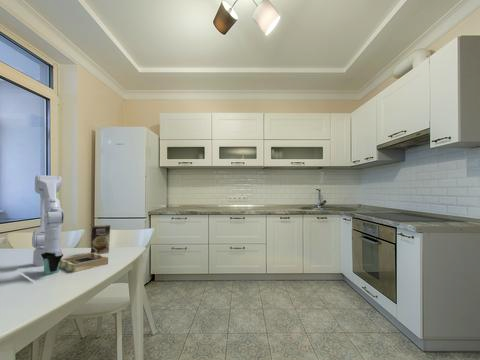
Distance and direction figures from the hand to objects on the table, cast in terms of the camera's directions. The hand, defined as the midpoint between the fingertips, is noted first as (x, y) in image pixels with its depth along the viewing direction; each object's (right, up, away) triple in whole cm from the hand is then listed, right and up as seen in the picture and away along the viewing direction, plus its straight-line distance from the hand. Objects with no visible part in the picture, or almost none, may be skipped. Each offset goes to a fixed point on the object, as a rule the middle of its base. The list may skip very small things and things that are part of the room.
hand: (51, 270), depth 103 cm
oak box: (+7, -3, +11) cm, 13 cm away
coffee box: (+1, -4, +34) cm, 34 cm away
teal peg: (0, -2, 0) cm, 2 cm away
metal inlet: (+7, -2, +11) cm, 13 cm away
